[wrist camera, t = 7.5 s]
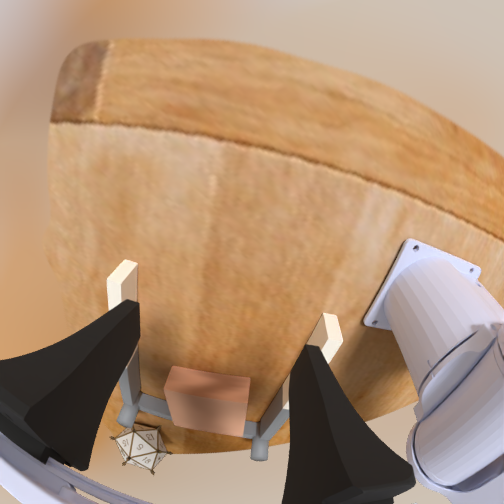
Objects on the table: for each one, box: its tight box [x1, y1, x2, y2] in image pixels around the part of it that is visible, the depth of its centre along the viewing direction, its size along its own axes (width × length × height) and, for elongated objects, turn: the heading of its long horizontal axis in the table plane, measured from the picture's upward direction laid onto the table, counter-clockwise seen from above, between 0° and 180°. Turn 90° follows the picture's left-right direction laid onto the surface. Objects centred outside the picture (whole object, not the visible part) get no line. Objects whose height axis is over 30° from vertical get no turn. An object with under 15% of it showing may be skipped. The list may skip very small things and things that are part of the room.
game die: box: [110, 423, 173, 475], centre depth 30 cm, size 9×8×10 cm
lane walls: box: [107, 259, 343, 410], centre depth 22 cm, size 17×10×3 cm, turn 75°
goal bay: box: [117, 348, 289, 461], centre depth 25 cm, size 18×11×5 cm, turn 75°
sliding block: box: [164, 365, 250, 437], centre depth 26 cm, size 8×8×4 cm
